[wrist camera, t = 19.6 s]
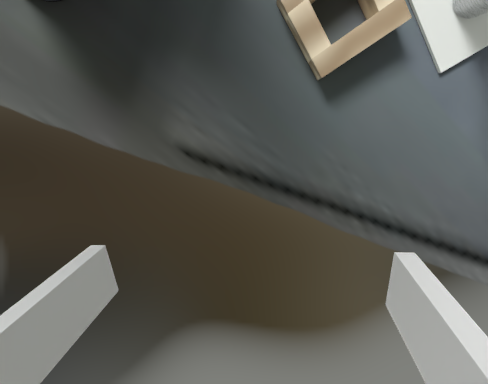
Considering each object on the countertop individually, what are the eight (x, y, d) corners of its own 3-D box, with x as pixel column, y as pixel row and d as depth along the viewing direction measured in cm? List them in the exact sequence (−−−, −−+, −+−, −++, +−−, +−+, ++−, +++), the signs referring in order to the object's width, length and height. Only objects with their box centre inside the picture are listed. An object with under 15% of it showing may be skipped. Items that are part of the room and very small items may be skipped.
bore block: (276, 4, 31) (276, -9, 28) (357, -62, 28) (369, -86, 24) (317, 80, 34) (321, 78, 30) (395, 27, 31) (411, 17, 27)
